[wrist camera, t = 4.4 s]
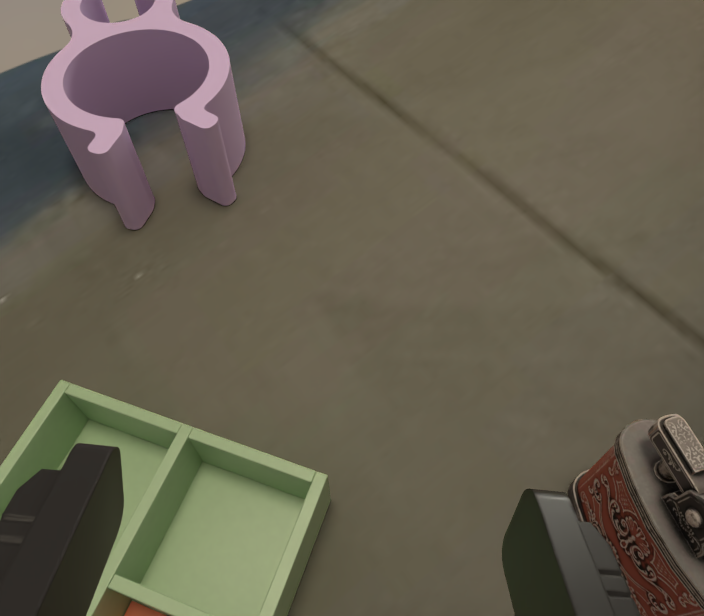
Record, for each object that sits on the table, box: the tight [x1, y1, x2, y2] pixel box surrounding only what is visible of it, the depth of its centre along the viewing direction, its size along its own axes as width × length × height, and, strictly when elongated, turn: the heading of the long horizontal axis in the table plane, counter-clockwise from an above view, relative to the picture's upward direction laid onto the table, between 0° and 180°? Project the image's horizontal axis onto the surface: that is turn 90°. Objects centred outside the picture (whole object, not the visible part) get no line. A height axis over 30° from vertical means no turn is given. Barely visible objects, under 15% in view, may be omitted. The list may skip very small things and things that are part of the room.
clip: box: [41, 0, 245, 230], centre depth 45 cm, size 20×12×7 cm, turn 20°
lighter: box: [568, 414, 704, 616], centre depth 26 cm, size 8×3×10 cm, turn 17°
